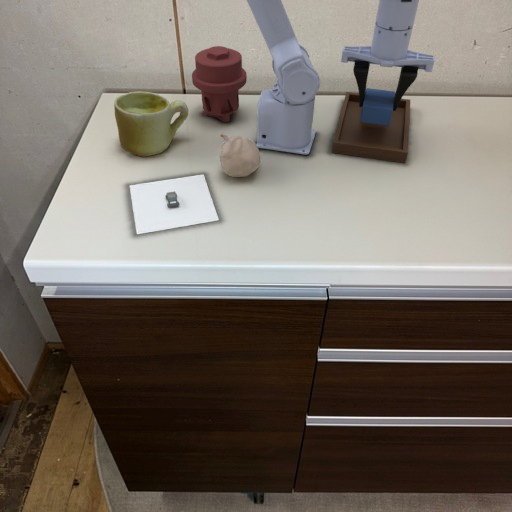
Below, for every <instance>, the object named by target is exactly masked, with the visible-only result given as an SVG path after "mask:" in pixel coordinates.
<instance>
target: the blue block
mask: <svg viewBox="0 0 512 512" xmlns="http://www.w3.org/2000/svg"><path fill="white" fill-rule="evenodd" d="M395 93H396V90H395V91H394V90H385V89H376V88H370V87H369V88H368V87H366V94H365V99H364V103H363V108H362V113H361V119H360V122H364V123H371V124H379V125H386V126H389V125H390V121H391V116H392V112H393V105H394V104H393V103H394V96H395Z"/></svg>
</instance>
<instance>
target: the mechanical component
mask: <svg viewBox="0 0 512 512" xmlns="http://www.w3.org/2000/svg"><path fill="white" fill-rule="evenodd" d="M194 61H195V62H194V63H195V69H194V70H193V71H192V73H191V80H192V81H191V82H192V84H193V86H194V87H195V88H196V89H198V90H199V91H201V105H202V110H203V115H205V116H207V117H212V118H216V119H218V120H220V121H221V122H223V123H228V122H230V120H231V117H230V115H233V114H234V113H236V112H237V111H238V110H239V108H240V96H239V93H240V91H239V90H241V89H242V88H243V87H245V86H246V84H247V80H248V79H247V75H248V74H247V71H246V69H244V68H243V57H242V54H241V52H239V51H238V50H237V49H236V50H235V49H233V48H229V47H226V46H222V45H215V46H211V47H209V48H205V49H203V50H200V51H199V52H196V54H195V56H194Z"/></svg>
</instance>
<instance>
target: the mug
mask: <svg viewBox="0 0 512 512" xmlns="http://www.w3.org/2000/svg"><path fill="white" fill-rule="evenodd" d="M113 107H114V119H115V122H116V126H117V131H118V139H119V140H118V141H119V144H120V147H121V148H122V149H123V150H124V151H125V152H128V153H129V154H132V155H134V156H137V157H140V158H141V157H149V156H154V155H158V154H161V153H164V151H166V150H167V149H168V148H169V146H170V145H171V142H172V141H173V139H174V137H175V135H176V133H177V132H178V129H179V128H180V127H181V126H182V125H183V123H184V122H185V121H186V120H187V118H188V116H189V110H190V109H189V107H188V104H187V103H186V102H185V101H182V100H174V101H171V102H169V100H168V98H166V97H164V95H161V94H159V93H155V92H151V91H139V90H138V91H129V92H127V93H126V94H122V95H119V96H117V97H116V98H115V100H114V106H113ZM176 113H177V114H178V113H179V116H177V117H176V118H175V119H174V121H173V122H172V119H173V117H174V116H175V114H176Z"/></svg>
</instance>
